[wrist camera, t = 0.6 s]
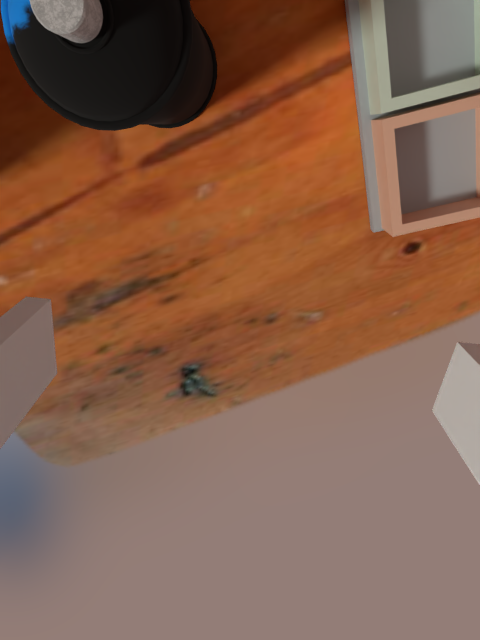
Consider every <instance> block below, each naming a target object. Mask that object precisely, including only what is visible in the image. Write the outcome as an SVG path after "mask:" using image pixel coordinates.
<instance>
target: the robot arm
mask: <svg viewBox="0 0 480 640" xmlns="http://www.w3.org/2000/svg"><path fill="white" fill-rule="evenodd" d="M56 374H57V366H56V355H55V343H54V332H53V320H52V309H51V299H43V298H34V297H25V298H24V299H23V300H21V301H20V302H19V303H18V304H16V305H15V306H14V307H13V308H11V309H10V310H9V311H8V312H6V313H5V314H4V315H3V316H1V317H0V449H1V447H2V446H3V444H4V443H5V442H6V441H7V439H8V438H9V437H10V435H11V434H12V433H13V431H14V430H15V429H16V427H17V426H18V425H19V423H20V422H21V421H22V419H23V418H24V417H25V415H26V414H27V413H28V411H29V410H30V409H31V407H32V406H33V405H34V403H35V402H36V401H37V399H38V398H39V397H40V395H41V394H42V393H43V391H44V390H45V389H46V387H47V386H48V385H49V383H50V382H51V381H52V379H53V378H54V377H55V375H56ZM432 411H433V413H434V414H435V416H436V417H437V419H438V420H439V422H440V424H441V425H442V427H443V429H444V430H445V431H446V433H447V435H448V436H449V438H450V439H451V441H452V443H453V444H454V446H455V447H456V449H457V450H458V452H459V454H460V455H461V457H462V458H463V460H464V462H465V463H466V464H467V466H468V468H469V469H470V471H471V472H472V474H473V475H474V477H475V479H476V480H477V482H478V483H479V485H480V344H471V343H461V342H457V345H456V347H455V350H454V353H453V355H452V358H451V361H450V364H449V366H448V369H447V372H446V374H445V377H444V380H443V382H442V385H441V388H440V391H439V393H438V396H437V399H436V401H435V404H434V407H433V410H432Z"/></svg>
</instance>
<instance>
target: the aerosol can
mask: <svg viewBox="0 0 480 640" xmlns="http://www.w3.org/2000/svg"><path fill="white" fill-rule="evenodd" d="M1 15H2V21H3V27H4V33H5V36H6V39H7V42H8V45H9V48H10V51H11V54H12V56H13V58H14V60H15V62H16V64H17V66H18V68H19V70H20V72H21V74H22V76H23V77H24V78H25V80H26V81H27V83H28V84H29V85H30V87H31V88H32V89H33V91H34V92H35V93H36V94H37V95H38V96H39V97H40V98H41V99H42V100H43V101H44V102H45V103H46V104H47V105H48V106H49V107H50V108H52V109H53V110H55V111H56V112H57V113H59V114H60V115H62V116H63V117H64V118H66V119H69V120H71V121H73V122H75V123H77V124H79V125H81V126H85V127H89V128H93V129H97V130H114V131H116V130H121V129H127V128H132V127H134V126H137V125H139V124H149V125H151V126H155V127H159V128H173V127H179V126H182V125H184V124H187V123H189V122H191V121H192V120H193V119H195V118H196V117H198V116H199V114H200V113H201V112H202V111H203V110H204V109H205V108H206V106H207V104H208V103H209V101H210V100H211V97H212V94H213V92H214V89H215V84H216V79H217V62H216V56H215V51H214V48H213V45H212V42H211V40H210V38H209V36H208V34H207V33H206V31H205V29H204V28H203V27H202V25H201V24H200V23H199V22H198V20H197V19H196V18H195V16H194V14H193V12H192V10H191V7H190V1H189V0H1Z"/></svg>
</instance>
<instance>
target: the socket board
mask: <svg viewBox="0 0 480 640" xmlns="http://www.w3.org/2000/svg"><path fill="white" fill-rule="evenodd" d="M345 8H346V17H347V26H348V34H349V43H350V52H351V60H352V69H353V78H354V87H355V95H356V104H357V113H358V121H359V130H360V139H361V148H362V156H363V165H364V174H365V182H366V191H367V200H368V209H369V217H370V226H371V230H372V231H373V232H378V231H383V230H385V231H386V232H387V233H389V234H390V235H391V236H392V237H394V236H398V235H403V234H407V233H412V232H416V231H421V230H425V229H429V228H434V227H438V226H443V225H447V224H452V223H456V222H460V221H465V220H469V219H474V218H478V217H480V0H345Z"/></svg>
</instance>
